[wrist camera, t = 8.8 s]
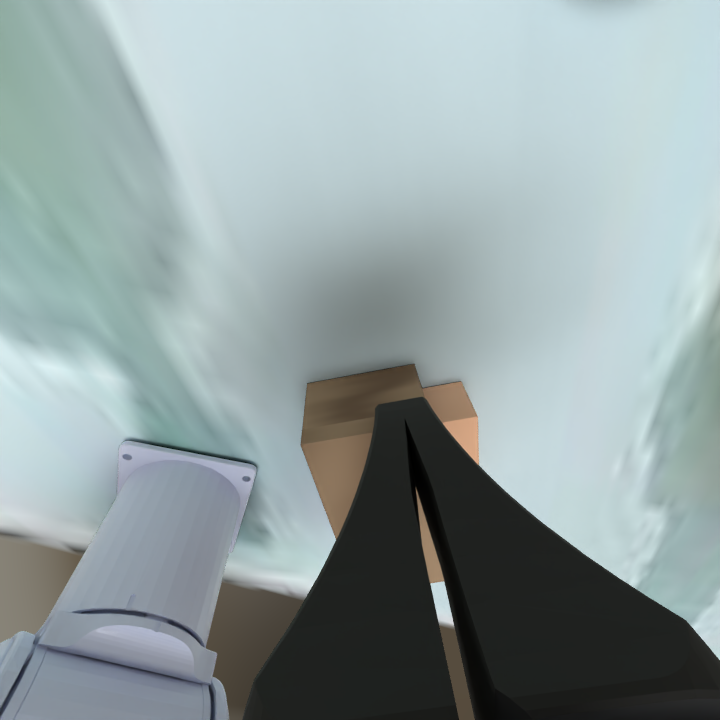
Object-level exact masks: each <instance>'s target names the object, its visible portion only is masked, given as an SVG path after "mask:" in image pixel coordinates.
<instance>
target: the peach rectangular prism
mask: <svg viewBox="0 0 720 720" xmlns="http://www.w3.org/2000/svg"><path fill="white" fill-rule="evenodd" d="M422 390H423V393H424V396H425V399H427V401H428V403H429V404H430V406H431V408H432V409H433V411H434V412H435V414H436V415H437V416H438V418H439V419H440V421H441V422H442V423H443V425H444V426H445V427H446V428H447V430H448V431H449V432H450V433H451V435H452V436H453V437H454V438H455V439H456V441H457V442H458V443H459V444H460V445H461V446H462V448H463V449H464V450H465V451H466V452H467V453H468V454H469V455H470V457H471V458H472V459H473V460H474V461H475V462H476V463H477V464H478V465H479V452H478V416H477V414H476V412H475V410H474V408H473V405H472V403H471V401H470V399H469V397H468V395H467V393H466V391H465V388H464V386H463V384H462V382H456V383H450V384H444V385H439V386H433V387H428V388H422Z"/></svg>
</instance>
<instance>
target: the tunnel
mask: <svg viewBox="0 0 720 720" xmlns="http://www.w3.org/2000/svg"><path fill="white" fill-rule="evenodd" d="M417 397H424V398H425V396H424V393H423V390H422V387H421V384H420V380H419V377H418V374H417V371H416V368H415V365H414V364H411V365H406V366H400V367H395V368H389V369H384V370H378V371H373V372H368V373H362V374H357V375H351V376H346V377H340V378H335V379H329V380H324V381H318V382H313V383H308V384H307V390H306V399H305V409H304V418H303V427H302V437H301V447H302V450H303V453H304V455H305V458H306V461H307V463H308V466H309V469H310V471H311V474H312V476H313V479H314V482H315V484H316V487H317V490H318V492H319V495H320V498H321V500H322V503H323V506H324V508H325V511H326V514H327V516H328V519H329V522H330V524H331V527H332V530H333V532H334V535H335V538H336V540H337V538H338V535H339V533H340V531H341V529H342V527H343V524H344V522H345V519H346V517H347V515H348V512H349V510H350V507H351V505H352V502H353V499H354V497H355V494H356V491H357V488H358V485H359V482H360V479H361V476H362V473H363V470H364V466H365V463H366V459H367V455H368V451H369V447H370V443H371V438H372V433H373V427H374V419H375V408H376V406H377V405H378V404H383V403H389V402H394V401H400V400H406V399H411V398H417ZM416 494H417V503H418V512H419V521H420V530H421V539H422V547H423V552H424V557H425V561H426V566H427V571H428V576H429V581H430V583H435V582H441V581H444V578H443V574H442V570H441V567H440V563H439V560H438V557H437V554H436V550H435V547H434V544H433V541H432V538H431V534H430V531H429V528H428V525H427V522H426V518H425V515H424V512H423V509H422V505H421V502H420V499H419V496H418V492H417V489H416Z"/></svg>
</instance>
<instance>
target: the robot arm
mask: <svg viewBox="0 0 720 720" xmlns="http://www.w3.org/2000/svg"><path fill="white" fill-rule="evenodd" d="M128 454H129V455H128ZM256 472H257V468H256V467H255V466H254V465H252V464H247V463H242V462H237V461H232V460H227V459H221V458H216V457H211V456H206V455H201V454H195V453H190V452H185V451H180V450H175V449H170V448H164V447H159V446H154V445H149V444H144V443H139V442H133V441H124V442H123V443H122V444H121V445H120V447H119V454H118V483H117V497H116V499H115V501H114V503H113V504H112V506H111V508H110V510H109V511H108V513H107V515H106V517H105V518H104V520H103V522H102V524H101V525H100V527H99V529H98V531H97V532H96V534H95V536H94V538H93V539H92V541H91V543H90V545H89V546H88V548H87V550H86V552H85V553H84V555H83V557H82V559H81V560H80V562H79V564H78V565H77V567H76V569H75V571H74V573H73V574H72V576H71V578H70V579H69V581H68V583H67V585H66V586H65V588H64V590H63V592H62V594H61V595H60V597H59V599H58V601H57V602H56V604H55V606H54V607H53V609H52V611H51V613H50V614H49V616H48V618H47V620H46V621H45V623H44V625H43V626H42V627H41V628H40V629H39V630H38V631H37V633H36V634H35V635H34V634H31V633H28V632H25V631H20V632H18V633H17V634H15V635H14V636H13V637H12V638H9V639H7V640H5V641H3V642H1V643H0V720H229V714H228V707H227V700H226V694H225V690H224V687H223V685H222V683H221V682H220V681H219V680H218V679H216V678H215V677H212V676H213V671H214V667H215V662H216V657H217V653H216V652H213V651H210V650H208V649H206V648H205V647H206V643H207V639H208V635H209V631H210V627H211V623H212V619H213V614H214V610H215V606H216V602H217V598H218V594H219V590H220V586H221V582H222V578H223V574H224V570H225V566H226V561H227V557H228V553H231V552H232V551H233V549H234V545H235V542H236V539H237V535H238V532H239V529H240V526H241V522H242V519H243V516H244V512H245V509H246V506H247V503H248V499H249V496H250V493H251V489H252V486H253V483H254V480H255V476H256ZM246 476H248V477H246ZM416 489H417V492H418V496H419V499H420V502H421V505H422V509H423V512H424V515H425V518H426V522H427V525H428V528H429V531H430V534H431V538H432V541H433V544H434V547H435V550H436V554H437V557H438V560H439V563H440V567H441V570H442V574H443V578H444V582H445V586H446V590H447V595H448V599H449V604H450V608H451V613H452V617H453V622H454V626H455V631H456V635H457V640H458V644H459V649H460V653H461V658H462V663H463V667H464V672H465V676H466V681H467V686H468V690H469V695H470V699H471V704H472V708H473V713H474V718H475V720H720V660H719V659H718V658H717V657H716V655H715V654H714V653H713V652H712V651H711V649H710V648H709V647H708V646H707V645H706V643H705V642H704V641H703V640H702V639H701V637H700V636H699V635H698V634H697V633H696V632H695V630H694V629H693V628H692V627H691V626H690V625H689V623H688V622H687V621H686V620H684V619H683V618H681V617H680V616H678V615H676V614H675V613H673V612H671V611H670V610H668V609H667V608H665V607H663V606H662V605H660V604H659V603H657V602H655V601H654V600H652V599H650V598H649V597H647V596H646V595H644V594H643V593H641V592H640V591H638V590H636V589H635V588H633V587H632V586H630V585H629V584H627V583H626V582H624V581H623V580H621V579H619V578H618V577H616V576H615V575H614V574H612V573H611V572H609V571H608V570H606V569H605V568H603V567H602V566H600V565H599V564H598V563H596V562H595V561H593V560H592V559H590V558H589V557H587V556H586V555H584V554H583V553H582V552H581V551H579V550H578V549H577V548H575V547H574V546H573V545H571V544H570V543H569V542H567V541H566V540H565V539H563V538H562V537H561V536H559V535H558V534H557V533H555V532H554V531H553V530H551V529H550V528H549V527H547V526H546V525H545V524H543V523H542V522H541V521H539V520H538V519H537V518H536V517H535V516H533V515H532V514H531V513H530V512H529V511H527V510H526V509H525V508H524V507H523V506H521V505H520V504H519V503H518V502H517V501H516V500H515V499H514V498H512V497H511V496H510V495H509V494H508V493H507V492H506V491H505V490H503V489H502V488H501V487H500V486H499V485H498V484H497V483H496V482H495V481H494V480H493V479H492V478H491V477H490V476H489V475H488V474H487V473H486V472H485V471H484V470H483V469H482V468H481V467H480V466H479V465H478V464H477V463H476V462H475V461H474V460H473V459H472V458H471V457H470V455H469V454H468V453H467V452H466V451H465V450H464V449H463V448H462V446H461V445H460V444H459V443H458V442H457V441H456V439H455V438H454V437H453V436H452V435H451V433H450V432H449V431H448V430H447V428H446V427H445V426H444V425H443V423H442V422H441V421H440V419H439V418H438V416H437V415H436V414H435V412H434V411H433V409H432V408H431V406H430V404H429V403H428V401H427V399H425V398H424V397H417V398H411V399H406V400H400V401H394V402H389V403H383V404H378V405H377V406H376V408H375V419H374V427H373V433H372V438H371V443H370V447H369V451H368V455H367V459H366V463H365V466H364V470H363V473H362V476H361V479H360V482H359V485H358V488H357V491H356V494H355V497H354V499H353V502H352V505H351V507H350V510H349V512H348V515H347V517H346V519H345V522H344V524H343V527H342V529H341V531H340V533H339V535H338V538H337V540H336V542H335V544H334V546H333V548H332V550H331V552H330V554H329V556H328V558H327V560H326V562H325V564H324V566H323V568H322V570H321V572H320V574H319V576H318V578H317V579H316V581H315V583H314V585H313V586H312V588H311V590H310V592H309V593H308V595H307V597H306V599H305V600H304V602H303V604H302V606H301V607H300V609H299V611H298V613H297V614H296V616H295V618H294V619H293V621H292V623H291V624H290V626H289V627H288V629H287V630H286V632H285V633H284V635H283V637H282V638H281V639H280V641H279V643H278V644H277V646H276V647H275V649H274V650H273V652H272V653H271V655H270V656H269V658H268V659H267V661H266V662H265V664H264V666H263V667H262V668H261V670H260V671H259V673H258V674H257V676H256V678H255V680H254V682H253V685H252V688H251V692H250V695H249V698H248V701H247V705H246V708H245V712H244V716H243V720H459V718H458V713H457V708H456V703H455V698H454V694H453V689H452V684H451V680H450V675H449V671H448V666H447V661H446V656H445V652H444V647H443V642H442V637H441V633H440V628H439V623H438V619H437V614H436V609H435V604H434V600H433V595H432V590H431V585H430V581H429V576H428V571H427V566H426V561H425V557H424V552H423V547H422V539H421V530H420V521H419V512H418V503H417V494H416Z"/></svg>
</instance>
